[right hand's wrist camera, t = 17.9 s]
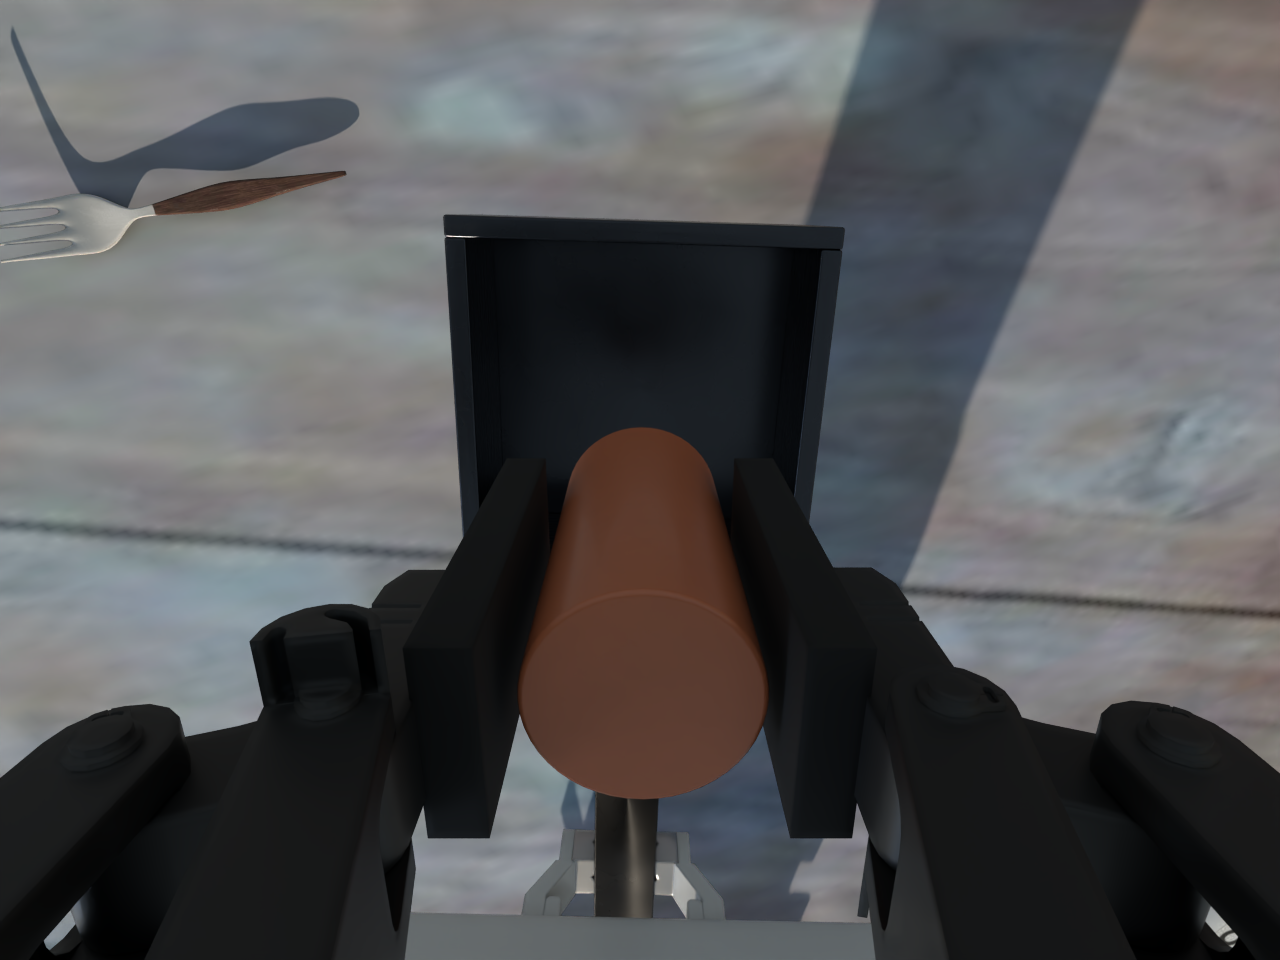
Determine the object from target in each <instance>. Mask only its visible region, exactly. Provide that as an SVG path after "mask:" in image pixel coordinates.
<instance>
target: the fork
mask: <svg viewBox="0 0 1280 960" xmlns="http://www.w3.org/2000/svg"><path fill="white" fill-rule="evenodd" d="M345 175H346V171H336V172H327V173H317V174H308V175H298V176H287V177H275V178H261V179H247V180H237V181H229V182H223V183H218V184H214V185H210V186H207V187H203V188H200V189H197V190H194V191H191V192H188V193H185V194H182V195H179V196H176V197H173V198H170V199H167V200H164V201H161V202H158V203H155V204H152V205H148V206H145V207H141V208H135V209H131V208H126V207H123V206H120V205H118V204H116V203H113V202H111V201H109V200H106V199H104V198H101V197H98V196H95V195H90V194H71V195H65V196H61V197H56V198H51V199H46V200H41V201H35V202H29V203H23V204H17V205H11V206H5V207H0V212H1V211H17V210H30V209H43V208H54V209H57V210H58V211H59V212H58V213H57V214H56V215H53V216H49V217H44V218H38V219H32V220H27V221H21V222H16V223H10V224H5V225H0V229H2V228H16V227H29V226H41V225H54V224H59V225H64V226H65V229H64V230H63V231H60V232H56V233H51V234H46V235H40V236H35V237H30V238H25V239H19V240H14V241H9V242H4V243H0V246H1V245H14V244H26V243H38V242H48V241H60V240H67V241H71V242H72V245H71V246H69V247H66V248H62V249H57V250H52V251H47V252H42V253H37V254H32V255H27V256H22V257H17V258H12V259H7V260H1V262H2V263H4V262H11V261H22V260H33V259H43V258H53V257H63V256H72V255H84V254H93V253H99V252H103V251H106V250H108V249H110V248H111V247H113V246H114V245H115V244H116V243H117V242H118V241H119V240H120V239H121V237H122V236H123V234H124V233H125V232H126V230H127V229H128V227H129V226H130V225H131V223H132V222H133V221H135V220H136V219H138V218H141V217H146V216H155V215H170V214H187V213H202V212H214V211H223V210H229V209H234V208H239V207H243V206H246V205H249V204H253V203H256V202H259V201H262V200H265V199H268V198H271V197H274V196H277V195H280V194H284V193H287V192H290V191H293V190H297V189H300V188H304V187H307V186H311V185H314V184H318V183H321V182H325V181H328V180H332V179H335V178H339V177H342V176H345Z"/></svg>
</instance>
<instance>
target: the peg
mask: <svg viewBox="0 0 1280 960" xmlns="http://www.w3.org/2000/svg"><path fill="white" fill-rule="evenodd" d="M517 701H518V707H519V713H520V716H521V719H522V723H523V726H524V728H525V730H526V732H527V734H528V736H529V738H530V741H531V742H532V743H533V745H534V746H535V748H536V749H537V751H538V752H539V753H540V755H541V756H542V757H543V758H544V759H545V760H546V761H547V762H548V763H549V764H550V765H551V766H552V767H553V768H555V769H556V770H557V771H558V772H559V773H561V774H562V775H564V776H565V777H567V778H568V779H570V780H571V781H573V782H575V783H577V784H579V785H581V786H583V787H585V788H588V789H591V790H593V791H596V792H599V793H603V794H606V795H610V796H615V797H622V798H629V799H656V798H664V797H671V796H676V795H679V794H683V793H687V792H690V791H692V790H695V789H698V788H700V787H703V786H705V785H707V784H709V783H710V782H712V781H714V780H716V779H718V778H719V777H721V776H722V775H724V774H725V773H727V772H728V771H729V770H730V769H731V768H733V767H734V766H735V765H736V764H737V763H738V762H739V761H740V760H741V759H742V758H743V757H744V756H745V755H746V753H747V752H748V751H749V749H750V748H751V747H752V745H753V744H754V742H755V741H756V739H757V737H758V735H759V733H760V731H761V728H762V726H763V723H764V720H765V717H766V714H767V709H768V702H769V682H768V676H767V670H766V667H765V663H764V660H763V656H762V652H761V649H760V645H759V642H758V638H757V635H756V631H755V627H754V624H753V620H752V617H751V613H750V610H749V606H748V602H747V599H746V595H745V592H744V588H743V584H742V581H741V577H740V574H739V570H738V567H737V563H736V559H735V556H734V552H733V549H732V545H731V542H730V538H729V534H728V531H727V527H726V524H725V520H724V517H723V513H722V509H721V506H720V502H719V499H718V495H717V491H716V488H715V484H714V481H713V478H712V475H711V472H710V469H709V467H708V465H707V463H706V462H705V460H704V459H703V457H702V456H701V455H700V454H699V453H698V451H697V450H696V449H695V448H694V447H693V446H691V445H690V444H689V443H688V442H686V441H685V440H683V439H682V438H680V437H678V436H676V435H674V434H672V433H670V432H667V431H663V430H660V429H655V428H645V427H638V428H629V429H623V430H620V431H617V432H614V433H611V434H609V435H607V436H605V437H603V438H601V439H600V440H598V441H597V442H595V443H594V444H593V445H592V446H591V447H589V448H588V449H587V450H586V451H585V453H584V454H583V455H582V456H581V457H580V459H579V460H578V462H577V463H576V465H575V467H574V469H573V472H572V474H571V478H570V481H569V484H568V488H567V492H566V496H565V500H564V504H563V507H562V511H561V515H560V519H559V523H558V527H557V530H556V534H555V538H554V542H553V546H552V550H551V553H550V557H549V561H548V565H547V569H546V572H545V576H544V580H543V584H542V588H541V592H540V595H539V599H538V603H537V607H536V611H535V615H534V618H533V622H532V626H531V630H530V634H529V638H528V641H527V645H526V649H525V653H524V657H523V660H522V664H521V668H520V672H519V678H518V684H517Z"/></svg>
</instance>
